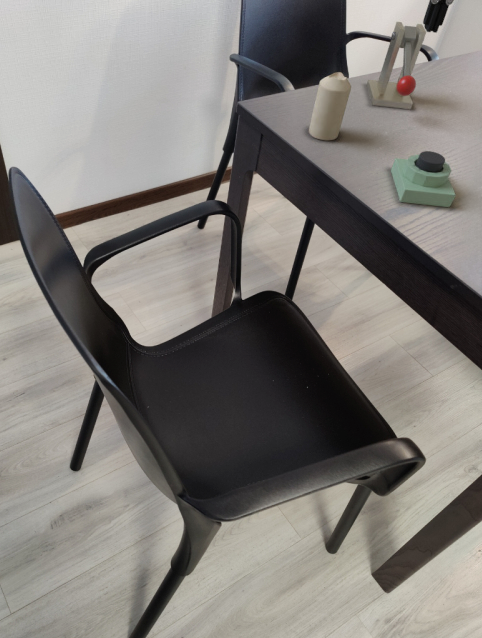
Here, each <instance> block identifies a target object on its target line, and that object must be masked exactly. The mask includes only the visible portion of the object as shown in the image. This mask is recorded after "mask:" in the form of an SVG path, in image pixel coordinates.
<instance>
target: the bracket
mask: <svg viewBox="0 0 482 638" xmlns="http://www.w3.org/2000/svg"><path fill="white" fill-rule="evenodd" d="M404 26H405V25H404V24H403V22H402V21H396V22H395V25H394V29H393V32H392V33H391V37H390V42H389V44H388V48H387V52H386V54H385V58H384V61H383V65H382V67H381V70H380V74H379V77H378V80H374V79H373V80H372V79H367V82H366V88H367V92H368V93H367V94H368V95H369V99H370V103H371V106H374V107H383V108H384V107H385V108H386V107H387V108H393V109H394V108H395V109H403V110H412V108H413V105H414V102H413V100H412V98H411V94H410V95H408V96H402V95H400V94H399V93H398V92H397V83H398V81H399V80H400V79H401V78H402V77H403V66H402V68H401V70H400V73H399V76H398V79H397V81H396V82H392V81H390V78H391V75H392V72H393V69H394V66H395V63H396V60H397V56H398V53H399V51H400V49H401V48H400V45H401V41H402V38H403V35H404V32H405V28H404ZM415 27H416V39H415V41H414V43H413V45H412V47H411V68H410V76H412V74H413V71H414V69H415V65H416V62H417V60H418V57H419V54H420V51H421V48H422V46H423V43H424V41H425V38H426V34H427V31H426V29H425V27H424V24H422V23H417V24H416V26H415Z"/></svg>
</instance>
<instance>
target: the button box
mask: <svg viewBox="0 0 482 638" xmlns="http://www.w3.org/2000/svg"><path fill="white" fill-rule="evenodd" d="M419 155H420V153H419V154H414V155H410V156H408V158H407V159H406V158H397V157H395V158H394V159H393V163H392V166H391V168H390V172H391V176H392V180H393V183H394V186H395V189H396V193H397V196H398V199H399V202H400V203H404V204H415V205H425V206H434V207H443V208H450V207H451V205H452V203H453V201H454V199H456V198H455V197H456V192H455V190H454V188H453V184H452V183H451V181H450V178H449V177H450V175H451V173H452V169H451V166H450V163H447V162H446V161H445V162H444V165H443V167H442V169H441V171H440V172H438V173H430V172H426V171H423V170H420V169H419V168H418V167H416V162H417V160H418V157H419Z"/></svg>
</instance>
